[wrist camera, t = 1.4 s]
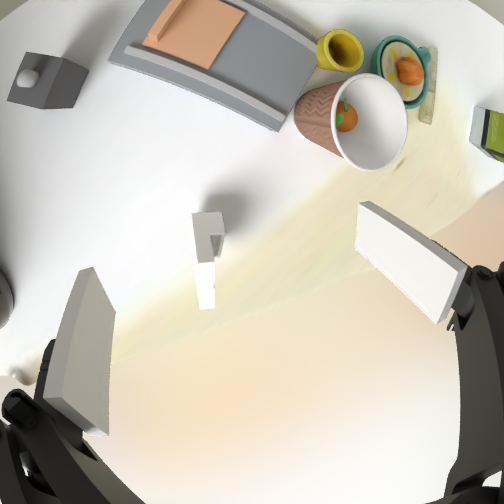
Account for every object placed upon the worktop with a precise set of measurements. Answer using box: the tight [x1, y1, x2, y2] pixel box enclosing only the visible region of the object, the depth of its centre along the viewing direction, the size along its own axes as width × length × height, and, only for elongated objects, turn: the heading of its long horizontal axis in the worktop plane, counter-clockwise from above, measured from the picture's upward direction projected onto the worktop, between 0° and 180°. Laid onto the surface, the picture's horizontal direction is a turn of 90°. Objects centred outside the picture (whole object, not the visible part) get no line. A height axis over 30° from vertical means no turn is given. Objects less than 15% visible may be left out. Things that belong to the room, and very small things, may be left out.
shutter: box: [142, 0, 245, 70], centre depth 19 cm, size 8×8×3 cm
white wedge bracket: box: [190, 212, 225, 310], centre depth 33 cm, size 4×10×9 cm, turn 176°
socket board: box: [108, 0, 319, 132], centre depth 23 cm, size 22×14×3 cm, turn 62°
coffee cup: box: [293, 73, 408, 172], centre depth 27 cm, size 10×10×12 cm
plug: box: [7, 52, 89, 109], centre depth 16 cm, size 5×5×11 cm
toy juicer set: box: [315, 29, 437, 132], centre depth 30 cm, size 29×18×8 cm, turn 104°
